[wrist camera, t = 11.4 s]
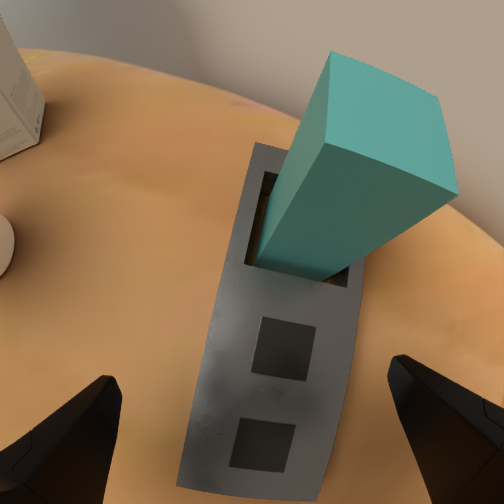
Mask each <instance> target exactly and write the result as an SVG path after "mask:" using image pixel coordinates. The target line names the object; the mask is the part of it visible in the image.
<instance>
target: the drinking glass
mask: <svg viewBox="0 0 504 504" xmlns="http://www.w3.org/2000/svg"><path fill="white" fill-rule="evenodd" d="M14 242H15V240H14V232H13V228H12V226H11V224H10V222H9V221H8V220H7V219H6V218H5V217H4V216H3V215H2V214H0V276H1V275H2V274H3V273H4V272H5V270H6V269H7V267H8V265H9V263H10V261H11V258H12V255H13V251H14Z"/></svg>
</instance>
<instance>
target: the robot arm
mask: <svg viewBox="0 0 504 504" xmlns="http://www.w3.org/2000/svg"><path fill="white" fill-rule="evenodd" d="M387 379H388V383H389V386H390V390H391V393H392V396H393V400H394V403H395V406H396V410H397V413H398V416H399V419H400V421H401V424H402V426H403V429H404V431H405V434H406V436H407V438H408V441H409V443H410V446H411V448H412V451H413V453H414V456H415V458H416V461H417V464H418V466H419V469H420V471H421V474H422V477H423V479H424V482H425V485H426V488H427V490H428V493H429V496H430V499H431V502H432V504H504V408H502V407H500V406H498V405H496V404H494V403H492V402H490V401H488V400H486V399H484V398H482V397H481V396H479V395H477V394H475V393H473V392H472V391H470V390H468V389H466V388H464V387H463V386H461V385H459V384H457V383H455V382H453V381H452V380H450V379H448V378H446V377H444V376H443V375H441V374H439V373H437V372H435V371H434V370H432V369H430V368H428V367H427V366H425V365H423V364H421V363H419V362H418V361H416V360H414V359H412V358H411V357H409V356H407V355H405V354H402V355H397V356H394V357H393V358H392V360H391V364H390V367H389V371H388V375H387ZM121 404H122V393H121V391H120V389H119V386H118V384H117V382H116V379H115V378H114V377H113V376H109V375H102V376H100V377H99V378H98V379H96V380H95V381H94V382H92V383H91V384H90V385H89V386H87V387H86V388H85V389H83V390H82V391H81V392H80V393H78V394H77V395H76V396H74V397H73V398H72V399H71V400H69V401H68V402H67V403H65V404H64V405H63V406H61V407H60V408H59V409H58V410H56V411H55V412H54V413H52V414H51V415H50V416H49V417H47V418H46V419H45V420H43V421H42V422H41V423H40V424H38V425H37V426H36V427H34V428H33V429H32V430H30V431H29V432H28V433H26V434H25V435H24V436H22V437H21V438H20V439H18V440H17V441H16V442H14V443H13V444H11V445H10V446H8V447H7V448H5V449H3V450H2V451H0V504H103V499H104V494H105V489H106V484H107V479H108V474H109V470H110V465H111V461H112V456H113V452H114V448H115V444H116V439H117V434H118V426H119V418H120V411H121Z"/></svg>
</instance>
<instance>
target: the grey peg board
mask: <svg viewBox="0 0 504 504" xmlns="http://www.w3.org/2000/svg"><path fill="white" fill-rule="evenodd" d="M287 154H288V150H284V149H280V148H277V147H273V146H269V145H265V144H261V143H257V142H255V145H254V149H253V152H252V156H251V160H250V164H249V168H248V171H247V175H246V179H245V183H244V187H243V191H242V195H241V198H240V202H239V206H238V210H237V214H236V218H235V222H234V226H233V230H232V234H231V238H230V242H229V247H228V251H227V255H226V259H225V263H224V267H223V271H222V275H221V280H220V284H219V288H218V292H217V297H216V301H215V305H214V309H213V314H212V318H211V322H210V327H209V331H208V336H207V340H206V345H205V349H204V353H203V358H202V363H201V367H200V372H199V376H198V381H197V386H196V390H195V395H194V400H193V404H192V409H191V414H190V419H189V424H188V428H187V433H186V438H185V443H184V448H183V453H182V458H181V463H180V469H179V474H178V479H177V484H176V486H179V487H184V488H188V489H193V490H198V491H204V492H209V493H215V494H222V495H229V496H237V497H245V498H255V499H268V500H288V501H316V500H317V497H318V494H319V491H320V488H321V485H322V482H323V479H324V475H325V472H326V469H327V465H328V462H329V459H330V455H331V451H332V448H333V444H334V440H335V436H336V433H337V429H338V425H339V420H340V416H341V412H342V408H343V403H344V398H345V394H346V389H347V384H348V379H349V374H350V369H351V363H352V358H353V352H354V346H355V340H356V333H357V327H358V320H359V312H360V305H361V296H362V288H363V278H364V268H365V257H366V256H364V257H363V258H361V259H359V260H358V261H356V262H354V263H353V264H351V265H349V266H348V267H346V268H344V269H342V270H341V271H339V272H337V273H336V274H334V275H332V276H331V278H330V284H327V283H322V282H318V281H314V280H309V279H305V278H301V277H296V276H292V275H288V274H283V273H279V272H275V271H271V270H266V269H262V268H258V267H254V266H249V265H245V264H244V260H245V256H246V251H247V247H248V242H249V238H250V233H251V229H252V225H253V220H254V216H255V211H256V207H257V202H258V198H259V194H263V195H267V196H270V195H271V192H272V190H273V187H274V185H275V183H276V180H277V178H278V175H279V173H280V171H281V168H282V166H283V163H284V161H285V159H286V156H287Z"/></svg>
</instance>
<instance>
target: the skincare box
mask: <svg viewBox="0 0 504 504" xmlns="http://www.w3.org/2000/svg"><path fill="white" fill-rule="evenodd" d="M44 109H45V98H44V96H43V95H42V93H41V91H40V89H39V88H38V86H37V84H36V82H35V81H34V79H33V77H32V75H31V74H30V72H29V70H28V68H27V66H26V65H25V63H24V61H23V59H22V57H21V55H20V53H19V52H18V50H17V48H16V46H15V44H14V42H13V40H12V38H11V36H10V34H9V32H8V30H7V28H6V26H5V24H4V21H3V19H2V17H1V15H0V160H2V159H4V158H6V157H8V156H11V155H13V154H15V153H17V152H19V151H21V150H24V149H26V148H28V147H30V146H33V145H35V144H38V142H39V137H40V129H41V124H42V119H43V114H44Z"/></svg>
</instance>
